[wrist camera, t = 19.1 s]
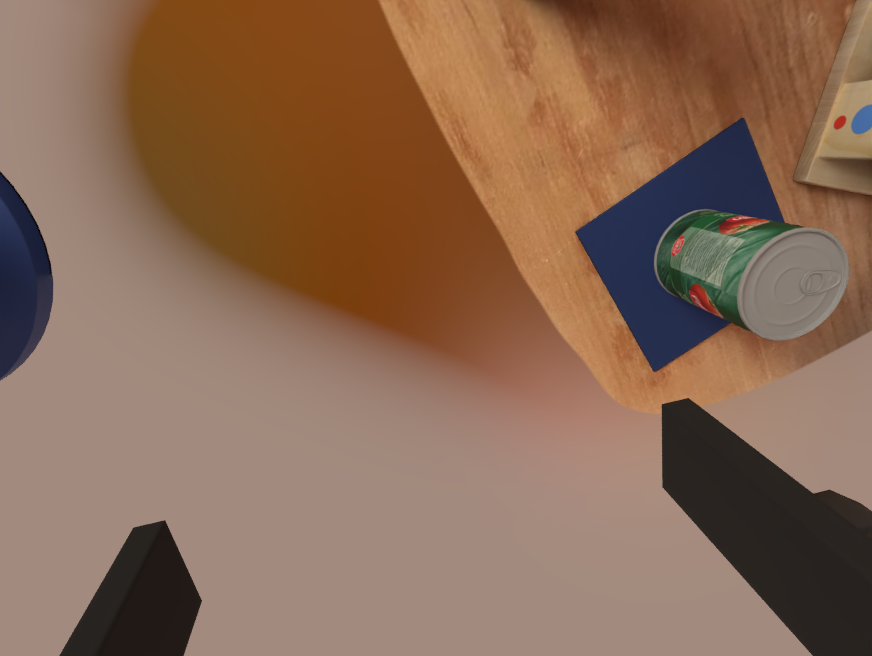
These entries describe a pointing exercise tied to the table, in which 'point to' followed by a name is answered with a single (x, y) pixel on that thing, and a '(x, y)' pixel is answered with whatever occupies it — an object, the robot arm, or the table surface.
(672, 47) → the table surface
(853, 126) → the pounding bench toy
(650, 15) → the table surface
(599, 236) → the cloth
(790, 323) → the canned tomato
